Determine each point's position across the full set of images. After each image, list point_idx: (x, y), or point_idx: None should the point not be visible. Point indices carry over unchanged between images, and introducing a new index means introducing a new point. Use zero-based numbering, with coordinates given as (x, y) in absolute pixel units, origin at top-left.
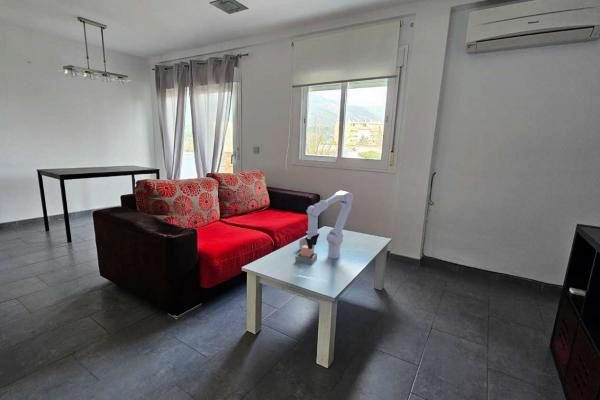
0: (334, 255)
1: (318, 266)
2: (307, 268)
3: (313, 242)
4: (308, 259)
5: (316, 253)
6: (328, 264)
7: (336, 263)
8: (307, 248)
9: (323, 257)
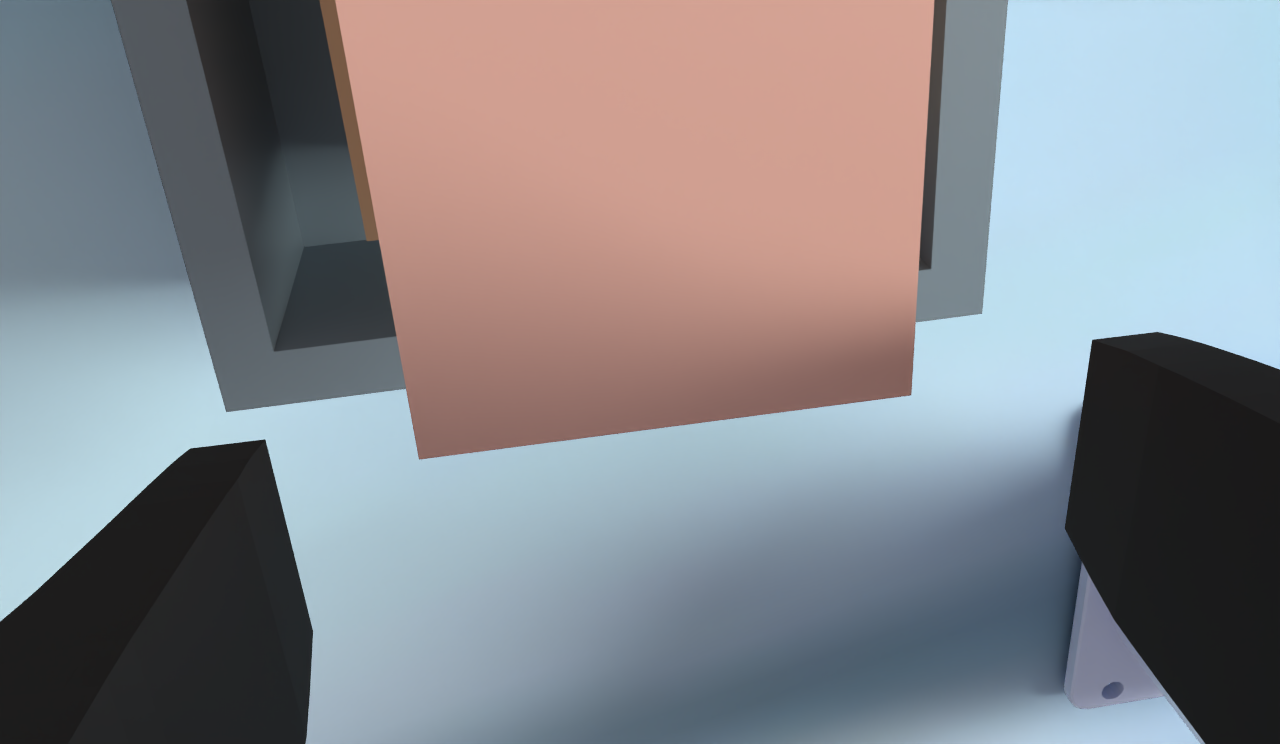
0: (1162, 688)
1: (402, 457)
2: (10, 232)
3: (1182, 495)
4: (194, 250)
5: (947, 301)
6: (695, 613)
7: (853, 731)
8: (388, 250)
9: (1159, 304)
